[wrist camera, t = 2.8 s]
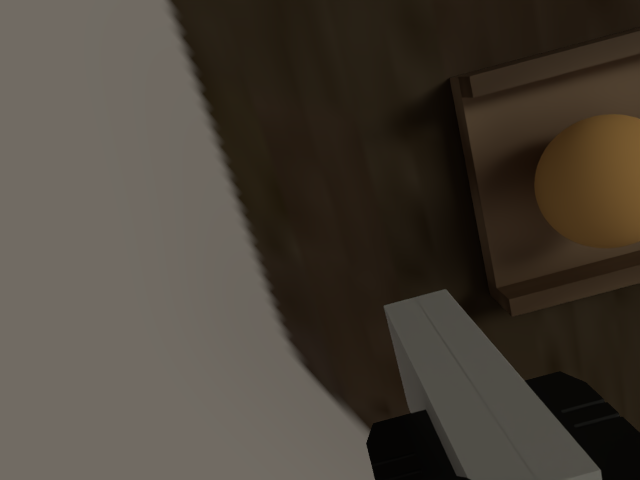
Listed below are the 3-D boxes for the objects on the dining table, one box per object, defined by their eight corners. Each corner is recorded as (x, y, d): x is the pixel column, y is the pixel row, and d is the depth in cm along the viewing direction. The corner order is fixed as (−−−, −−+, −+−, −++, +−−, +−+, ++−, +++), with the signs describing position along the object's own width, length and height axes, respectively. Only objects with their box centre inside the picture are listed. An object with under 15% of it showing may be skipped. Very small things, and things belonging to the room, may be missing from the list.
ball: (505, 129, 23) (563, 140, 18) (623, 97, 23) (714, 99, 18) (523, 243, 24) (583, 281, 19) (635, 213, 24) (723, 244, 19)
